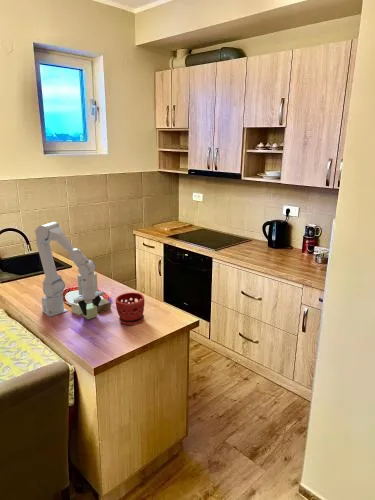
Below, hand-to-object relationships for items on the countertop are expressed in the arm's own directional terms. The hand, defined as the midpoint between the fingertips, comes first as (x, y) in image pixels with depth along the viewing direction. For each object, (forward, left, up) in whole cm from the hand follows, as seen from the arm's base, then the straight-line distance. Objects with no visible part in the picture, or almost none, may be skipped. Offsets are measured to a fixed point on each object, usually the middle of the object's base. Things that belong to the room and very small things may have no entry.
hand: (90, 313), depth 172 cm
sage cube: (0, 0, -2) cm, 2 cm away
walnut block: (+9, +4, -2) cm, 10 cm away
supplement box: (+12, +23, -2) cm, 26 cm away
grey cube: (-1, +9, -2) cm, 9 cm away
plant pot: (+12, -16, -2) cm, 20 cm away
